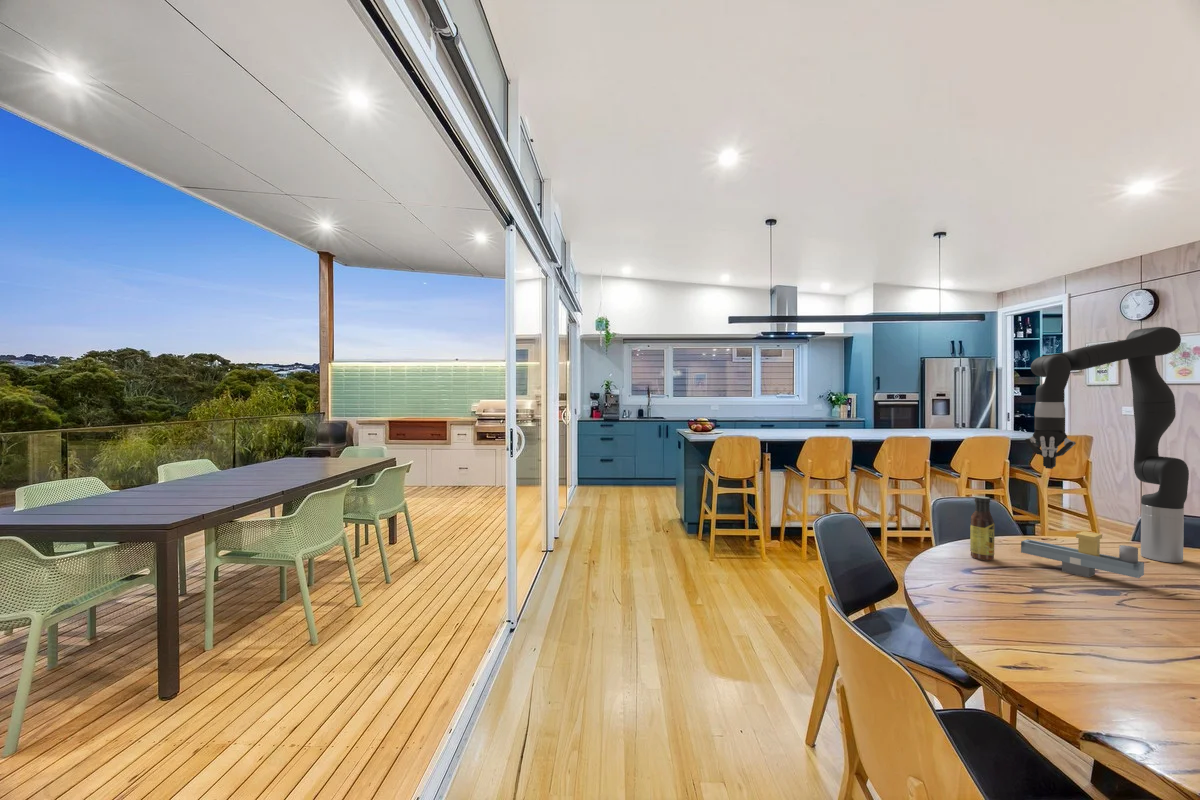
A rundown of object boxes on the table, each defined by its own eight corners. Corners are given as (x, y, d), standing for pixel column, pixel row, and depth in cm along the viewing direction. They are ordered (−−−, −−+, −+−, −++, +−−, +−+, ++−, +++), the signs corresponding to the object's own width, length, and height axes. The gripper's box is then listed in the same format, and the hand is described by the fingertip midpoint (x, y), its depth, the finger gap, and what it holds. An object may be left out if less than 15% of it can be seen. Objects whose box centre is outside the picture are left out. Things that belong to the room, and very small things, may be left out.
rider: (1075, 558, 147) (1076, 533, 147) (1083, 554, 150) (1083, 530, 150) (1094, 562, 144) (1094, 537, 144) (1101, 558, 147) (1102, 534, 147)
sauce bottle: (994, 562, 158) (995, 500, 158) (969, 558, 162) (970, 497, 162) (994, 557, 163) (994, 496, 163) (970, 553, 167) (970, 494, 167)
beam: (1020, 561, 159) (1021, 529, 159) (1027, 559, 162) (1027, 526, 161) (1138, 589, 137) (1138, 551, 136) (1143, 585, 139) (1144, 548, 139)
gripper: (1080, 416, 161) (1080, 470, 161) (1029, 415, 172) (1029, 465, 172) (1072, 417, 157) (1071, 471, 157) (1020, 415, 168) (1019, 466, 169)
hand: (1049, 468), depth 165 cm, fingers closed
